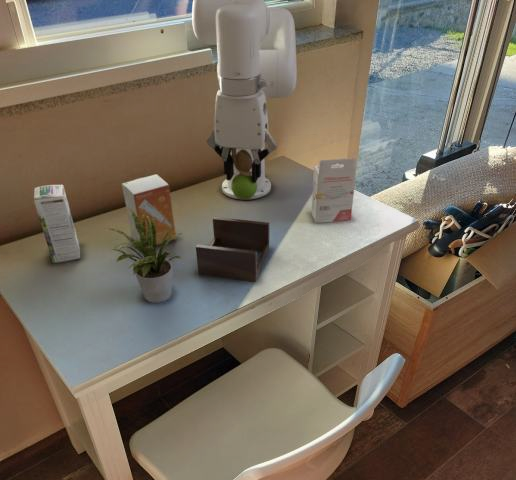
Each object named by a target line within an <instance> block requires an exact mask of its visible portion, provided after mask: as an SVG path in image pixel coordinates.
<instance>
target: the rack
mask: <svg viewBox="0 0 516 480" xmlns="http://www.w3.org/2000/svg"><path fill="white" fill-rule="evenodd" d="M212 228H213V229H212V230H213V239H212V240H211V242H210V244H209V245H207V244H206V245H205V244H198V243H197V244H196V246H195V254H196V265H197V272H198V276H199V275H200V276H208V277H215V278H222V279H228V280H229V279H230V280H237V281H238V280H239V281H245V282H254V283H257V281H258V278H259V276H260V273H261V271H262V268H263V266H264V263H265V261H266V259H267V256H268V254H269V251H270V222H268V221H257V220H247V219H238V218H230V217H229V218H228V217H220V216H213V217H212ZM258 252H261V254H260V256H259V258H258V256H257V255H258ZM257 260H258V261H257Z"/></svg>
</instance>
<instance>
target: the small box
mask: <svg viewBox="0 0 516 480" xmlns="http://www.w3.org/2000/svg"><path fill="white" fill-rule="evenodd" d="M121 188H122V193H123V198H124V203H125V208H126V213H127V218H128V221H129V222H128V223H129V228H130V233H131V238H132V239H133V241H135V240H137V239H140V235H139V233H138V232H137V229H136V226H135V223H134V220H133V217H132V215H131V213H130V211H129V209H131V210H132V211H133V212H134V213H135V214H136V216H137V217H138V219H139V222H140V225H141V228H142V216H143V214H144V215H145V216H144V218H145V227H146V237H147V231H148V224H147V217H146V214H147V216H148V217H149V219H150V217H152V219H153V221H154V224H155V227H156V246H158V245H161V244H162V242H163V239H164V238H165V236H166V234H167V232H168V230H169V228H170V227H171V226H172V227H171V229H170V231H169V234H168V235H167V237H166V239H167V238H168V237H171V236H173V235H175V234H176V229H175V219H174V213H173V205H172V198H171V189H170V184H169V183H168V182H167V181H165V180H164V179H163V178H162V177H161V176H159V174H157V173H156V174H152V175H149V176H144V177H139V178H136V179H134V180H130V181H126V182H122V183H121ZM150 215H151V216H150ZM150 221H151V220H150ZM172 224H173V225H172ZM166 239H165V240H166ZM175 240H177V236H175V237H174V238H173V239H171V240H170V241H169V242H171V241H175Z"/></svg>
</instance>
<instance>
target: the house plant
mask: <svg viewBox="0 0 516 480" xmlns="http://www.w3.org/2000/svg"><path fill="white" fill-rule="evenodd" d="M129 211H130V213H131V215H132V217H133V220H134V223H135V226H136V229H137V232H138V233H139V235H140V239H137V240H132V239H131V238H130V237H129V236H128V235H127V234H126V233H125V232H123V231H121V230H119V229H116V228H110V227H106V228H105V227H104V228H100V229H101V230H109V231H115V232H116V233H119V234H120V235H122V236H124V237H125V238H126V239H127V240H128V241H129V242H131V243H132V244H133V245H132V244H129V243H124V242H123V243H120V244H118V245H115V247H114V248H112V249H109V250H111V251H116V252H119V253H121V255H120V256H118V257H117V259H116V261H115V263H117V262H119V261H122V260H125V259H130V260H132V261H134V263H133V264H131V265H129V266H128V269H130V268H132V272H133V274H132V276H135V277H136V280H137V282H138V285H139V287H140V290H141V292H142V294H143V296H144V298H145V300H146V301H147V302H150V303H153V304H158V303H163V302H166V301H167V300H169V299H170V298H171V296H172V293H173V292H172V288H173V263H172V262H171V261H172V260H174V259H175V260H176V259H178V260H179V259H180V260H182V261H183V259H182V258H181V256H180V255H174V256H173V255H172V253H171V252H168V251H165V252H164V250H165V247H166V246H167V245H168V243H169V242H171V241H172V240H171V239H173V238H174V237H175V236H176V237H177V236H180V235H183V234H184V233H182V232H179V233H175V235H173V236H171V237H168V238H167V239H166V237H167V235H168V234H169V231H170V229H171V227H172V226H171V227H170V228H169V230H168V232H167V234H166V236H165V238H164V239H163V242H162V244H160V247H159V250H158V252H157V245H156V227H155V224H154V221H153V219H152V217H150V219H149V217H148V216H147V214H146V217H147V224H148V231H147V237H146V227H145V218H144V216H145V215H144V214H143V216H142V228H141V225H140V222H139V219H138V217H137V216H136V214H135V213H134V212H133V211H132V210H131V209H129ZM150 216H151V215H150ZM150 220H151V221H150ZM172 225H173V224H172ZM165 239H166V240H165ZM170 240H171V241H170ZM125 246H127V248H128V249H130V250H132V251H133V252H134V253H135V254H137V255H135V254H132V253H126V252H125V251H123V250H122V249H124V248H125ZM117 248H118V249H117ZM134 248H135V249H134ZM137 250H138V251H139V252H138V251H137ZM168 256H171V258H169V259H167V257H168Z"/></svg>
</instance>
